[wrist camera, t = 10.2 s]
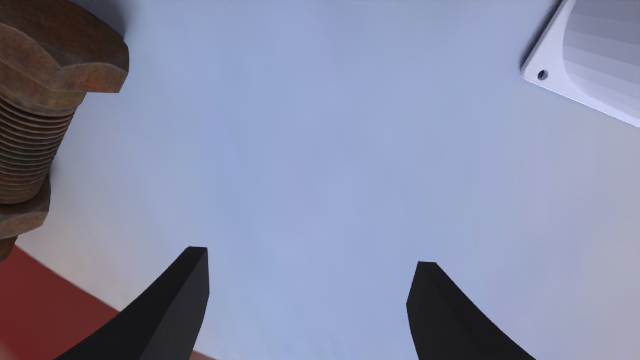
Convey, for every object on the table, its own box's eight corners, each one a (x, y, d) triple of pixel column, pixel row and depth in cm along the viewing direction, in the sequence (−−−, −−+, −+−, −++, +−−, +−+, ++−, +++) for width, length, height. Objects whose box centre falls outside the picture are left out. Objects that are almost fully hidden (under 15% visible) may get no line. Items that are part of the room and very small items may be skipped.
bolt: (8, 205, 25) (93, 1, 19) (53, 262, 24) (158, 68, 18) (-121, 232, 19) (-59, -40, 13) (-69, 307, 19) (22, 53, 13)
